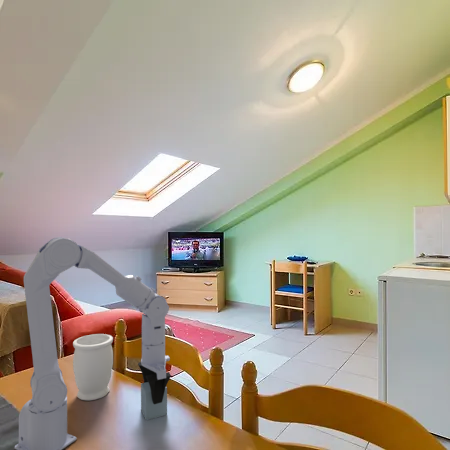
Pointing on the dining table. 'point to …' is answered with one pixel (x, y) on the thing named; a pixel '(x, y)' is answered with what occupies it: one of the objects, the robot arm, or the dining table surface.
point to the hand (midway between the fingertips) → (153, 396)
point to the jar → (93, 365)
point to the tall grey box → (147, 403)
